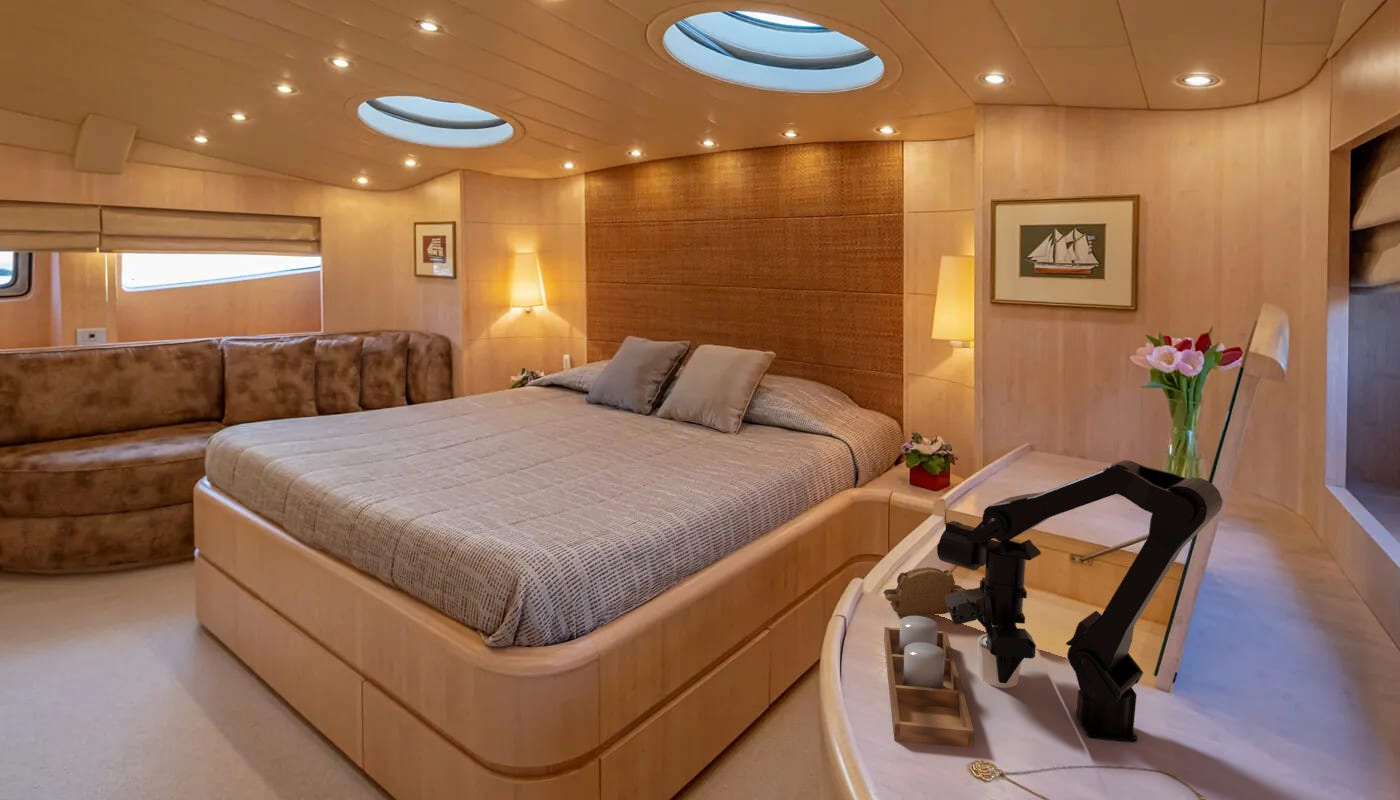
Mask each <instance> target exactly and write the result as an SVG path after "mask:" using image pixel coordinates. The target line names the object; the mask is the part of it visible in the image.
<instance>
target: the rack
mask: <svg viewBox="0 0 1400 800" xmlns="http://www.w3.org/2000/svg"><path fill="white" fill-rule="evenodd" d="M899 640H900V627H890V626H887V627H886V626H884V632H883V644H884V652H885V653H884V655H885V662H886V672H887V683H888V691H889V692H888V693H889V701H890V712H891V722H892V732H893V741H895V742H903V743H904V742H905V743H914V744H926V745H937V746H946V747H956V748H967V749H973V748H974V735H975V731H974V726H973V723H972V719H971V716H970V712H969V707H968V704H967V702H966V698H965V697H966V696H965V694H964V689H963V686H962V682H961V680H960V675H959V672H958V668H957V665H956V660H955V657H954V654H953V649H952V646H951V642H950V639H949V636H948V632H947V631H943V630H942V631H941V630H937V646H938V647H940V648H941V649H942V650H943V651H944V652H945V664H944V683H943V689H936V688H924V687H913V686H903V673H904V655H899Z"/></svg>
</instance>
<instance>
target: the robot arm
mask: <svg viewBox="0 0 1400 800" xmlns="http://www.w3.org/2000/svg"><path fill="white" fill-rule="evenodd" d="M1114 495H1119V496H1121V497H1124V498H1125V499H1127V500H1128V501H1130V502H1131V503H1133V504H1134V505H1135V506H1137V507H1139V508H1140V509H1142V510H1143V511H1146V512H1148V513H1151V516H1150V517H1151V518H1150V522H1149V528H1148V529H1149V530H1148V534H1147V535H1148V536H1147V537H1146V538H1147V539H1146V540H1145V542H1144V544H1143V545H1142V547H1141V548H1140V550H1139V551H1138V554H1137V555H1136V557H1135V559H1134V560H1133V562H1132V564H1131V565H1130V567H1129V569H1128V570H1127V572H1126V573H1125V575H1124V577H1123V578H1122V580H1121V582H1120V584H1119V585H1118V587H1117V588H1116V590H1115V592H1114V593H1113V595H1112V597H1111V599H1110V601H1109V602H1108V604H1107V606H1106V607H1105V608H1104V611H1102V614H1101V613H1100V612H1099V611H1098V610H1095V611H1093V612H1091V613H1090V614H1089V615H1087V616H1086V617H1085V618H1084V619H1082V620H1081V621H1079V622H1078V624H1077V626H1076V629H1075V631H1074V634H1073V637H1072V638H1071V639H1070V640H1068V641H1067V642H1066V643H1065V644H1066V646H1070V647H1069V648H1068V650H1067V653H1066V654H1067V659H1068V661H1069V664H1070V666H1071V668H1072V670H1073V671H1074V673H1075V676H1076V679H1077V683H1078V687H1079V690H1078V691H1077V699H1076V701H1077V702H1076V710H1075V711H1076V712H1075V715H1076V718H1077V720H1078V721H1079V723H1080V726H1082V727H1083V730H1084V731H1085V733H1086V735H1087V737H1090V738H1092V739H1093V738H1094V739H1103V740H1116V741H1127V742H1137V741H1138V736H1137V733H1136V732H1135V730H1134V725H1135V716H1136V707H1137V705H1136V704H1137V693H1136V692H1135V690H1134V688H1133V686H1134V685H1137V684H1138V683H1139V681H1140V680H1141V678H1142V677H1143V675H1144V671H1143V670H1142V669H1141V667H1140V666H1139V664H1138V663H1137V661H1135V660H1134V658H1133V656H1131V654H1130V653H1129V651H1130V648H1131V645H1132V642H1133V637H1134V636H1133V635H1134V629H1135V625H1136V623H1137V622H1138V620H1139V618H1140V617H1141V615H1142V614H1143V612H1144V611H1145V609H1146V608H1147V606H1148V604H1149V602H1150V601H1151V600H1152V598H1153V597H1154V594H1156V591H1157V590H1158V588H1159V587H1160V585H1161V584H1162V582H1163V581H1164V578H1165V577H1166V575H1167V574H1168V572H1169V570H1170V569H1171V567H1172V566H1173V564H1174V563H1175V561H1176V559H1177V558H1178V556H1179V555H1180V553H1181V552H1182V550H1183V549H1184V547H1185V546H1186V545H1187V544H1188V543H1189V542H1190V541H1191V540H1192V539H1194V538H1195V536H1197V535H1198V534H1199V533H1200V532H1201V531H1202V530H1203V529H1204V528H1205V527H1206V526H1207V525H1208V524H1209V523H1210V522H1211V521H1212V520H1213V519H1214V518H1215V516H1217V515H1218V514H1219V512H1220V511H1221V510H1222V506H1223V500H1224V499H1223V498H1222V495H1221V494H1220V491H1219V489H1218V488H1217V487H1216V486H1215V485H1214V483H1212V482H1210V481H1209V480H1207V479H1204V478H1200V477H1188V478H1186V477H1184V476H1182V475H1179V474H1176V473H1174V472H1169V471H1165V470H1161V469H1156V468H1154V467H1153V468H1152V467H1147V466H1145V465H1142V464H1141V463H1138V462H1135V461H1132V460H1130V459H1129V460H1127V459H1123V460H1120V461H1117V462H1115V463H1113V464H1112V463H1111V464H1110V465H1108V466H1107V467H1106V468H1104V469H1102V470H1099V471H1096V472H1093V473H1091V474H1088V475H1085V476H1083V477H1079V478H1077V479H1076V480H1073V481H1070V482H1067V483H1064V484H1062V485H1059V486H1057V487H1054V488H1051V489H1049V490H1046V491H1041V492H1035V493H1026V494H1021V495H1015V496H1010V497H1008V498H1005V499H1003V500H999V501H997V502H995V503H993V504H990V505H988V506H986V508H984V510H983V514H982V521H981V522H980V523H979V524H978V525H977V526H976V527H974V526H970V525H966V524H963V523H961V522H959V521H956V520H951V521H948V522H947V523H946V524H945V529H944V531H943V532H942V534H941V536H940V538H939V541H938V543H937V546H936V550H937V551H936V553H937V557H938V559H939V560H940V561H941V562H944V563H948V564H951V565H954V566H958V567H960V568H965V569H968V570H972V571H977V570H978V569H980V568H981V567H984V566H985V569H984V577H982V578H981V579H980V580H979V587H976V588H975V587H974V588H968V589H966V590H963V591H959V592H956V593H952V594H948V595H947V596H945V600H946V603H947V607H948V610H949V613H948V614H949V615H950V618H951V621H952V623H953V625H954V626H957V625H958V626H959V625H963V624H966V623H970V622H974V621H976V620H977V621H978V622H979V623H980V625H982V626H983V627H984V628H985V629H984V630H985V634H987V641H986V644H987V647H988V649H989V651H990V653H991V654H993V655H995V657H996V665H997V673H998V680H999V682H1000V683H1007V681H1008V680H1009V679H1010V677H1011V676H1012V674H1013V673H1014V671H1015V670H1016V668H1017V667H1018V665H1019V664H1020V663H1021V664H1022V662H1023V660H1024V659H1034V658H1036V648H1037V645H1036V643H1035V640H1034V639H1033V637H1032V635H1031V634H1030V633H1029V631H1027V630H1026V628H1020V627H1019V628H1018V627H1017V624H1024V625H1025V623H1026V617H1025V614H1024V612H1023V608H1024V607H1023V605H1024V604H1023V603H1024V599H1027V598H1028V597H1027V595H1028V592H1027V590H1026V588H1025V575H1026V561H1031V560H1033V559H1035V558H1037V557H1039V556H1041V555H1042V552H1041V550H1040V549H1039V548H1038V547H1037V546H1036V545H1034V543H1033V542H1032V540H1031V539H1026V540H1025V541H1023V542H1019V541H1015V540H1012V539H1014V538H1017V537H1019V536H1020V535H1022V534H1024V533H1027V532H1029V531H1031V530H1032V529H1034V528H1035V527H1038V526H1039V525H1040V524H1042V523H1044V522H1045V521H1047V520H1048V519H1050V518H1051V517H1055V516H1057V515H1060V514H1064V513H1065V512H1069V511H1071V510H1074V509H1076V508H1080V507H1083V506H1086V505H1090V504H1092V503H1094V502H1097V501H1100V500H1103V499H1105V498H1106V499H1107V498H1108V497H1111V496H1114ZM994 539H995V540H994Z"/></svg>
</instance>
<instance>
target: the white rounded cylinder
mask: <svg viewBox="0 0 1400 800" xmlns="http://www.w3.org/2000/svg"><path fill="white" fill-rule="evenodd" d="M944 664H945V652H944V651H943V650H942V649H941V648H940V647H938V646H936V645H933V644H930V643H923V642H916V643H911V644H908V645H907V646H906V647H905V649H904V673H903V686H913V687H924V688H936V689H943V683H944Z"/></svg>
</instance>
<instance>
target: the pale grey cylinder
mask: <svg viewBox="0 0 1400 800" xmlns="http://www.w3.org/2000/svg"><path fill="white" fill-rule="evenodd" d="M938 625H939V624H938V623H937V622H936V621H935V620H934V619H932V618H929V617H926V616H924V615H910V616H904V617H902V618H901V619H900V622H899V628H900V640H899V655H904V649H905V647H906V646H907V645H908V644H911V643H916V642H923V643H930V644H933V645H936V646H937V631H939V630H938V629H939V626H938Z"/></svg>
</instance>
